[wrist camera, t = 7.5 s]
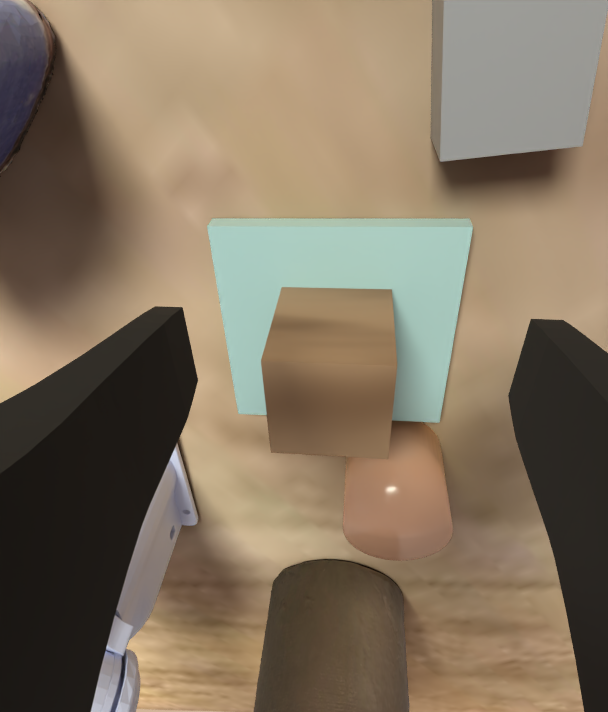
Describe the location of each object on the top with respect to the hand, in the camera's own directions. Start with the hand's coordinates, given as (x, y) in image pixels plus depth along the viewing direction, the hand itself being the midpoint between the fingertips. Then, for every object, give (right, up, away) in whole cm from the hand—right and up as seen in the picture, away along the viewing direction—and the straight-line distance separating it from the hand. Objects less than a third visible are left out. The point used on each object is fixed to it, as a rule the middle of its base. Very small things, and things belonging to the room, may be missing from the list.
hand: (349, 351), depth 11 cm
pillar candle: (+2, -18, +26) cm, 32 cm away
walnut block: (0, +1, +11) cm, 11 cm away
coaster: (+1, +1, +12) cm, 12 cm away
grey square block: (+5, +9, +5) cm, 12 cm away
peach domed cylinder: (+4, -5, +16) cm, 17 cm away
